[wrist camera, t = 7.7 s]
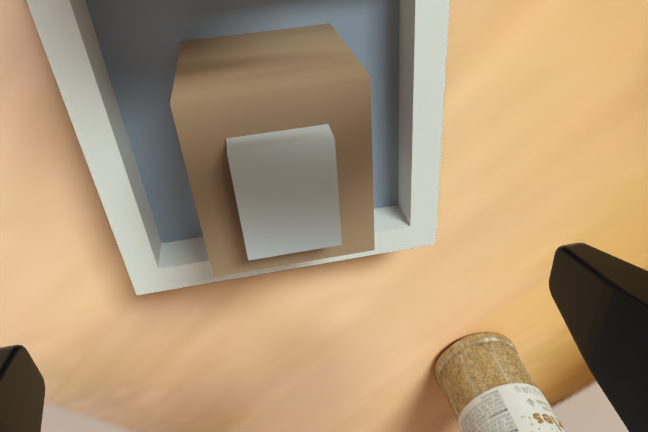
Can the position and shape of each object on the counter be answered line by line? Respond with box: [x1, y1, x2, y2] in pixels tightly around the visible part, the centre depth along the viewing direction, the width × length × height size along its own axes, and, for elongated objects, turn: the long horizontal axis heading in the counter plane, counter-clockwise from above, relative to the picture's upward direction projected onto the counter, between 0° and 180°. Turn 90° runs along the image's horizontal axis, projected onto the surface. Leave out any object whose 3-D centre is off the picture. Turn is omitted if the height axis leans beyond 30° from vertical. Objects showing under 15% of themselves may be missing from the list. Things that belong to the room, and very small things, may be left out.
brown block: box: [170, 23, 375, 277], centre depth 15 cm, size 5×4×6 cm
